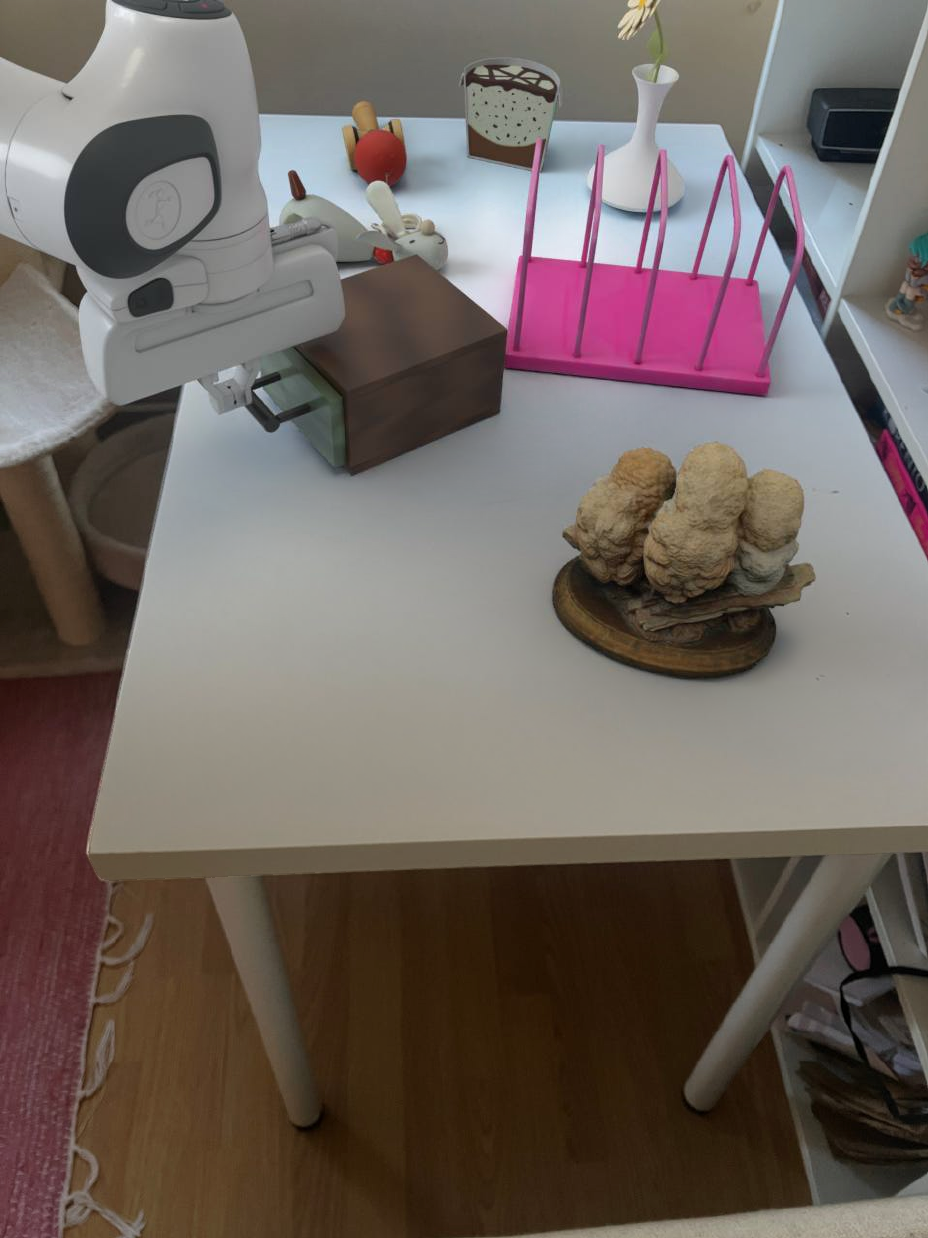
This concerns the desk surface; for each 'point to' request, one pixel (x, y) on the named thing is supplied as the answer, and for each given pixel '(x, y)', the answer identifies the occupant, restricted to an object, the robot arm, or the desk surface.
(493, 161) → the food container
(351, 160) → the kendama
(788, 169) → the file sorter
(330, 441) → the drawer
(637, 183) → the flower in vase
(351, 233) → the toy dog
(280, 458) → the desk surface
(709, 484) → the owl figurine
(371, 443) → the cabinet
